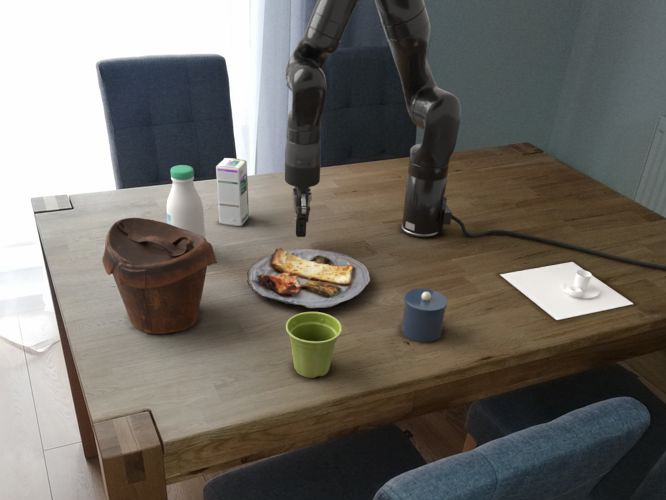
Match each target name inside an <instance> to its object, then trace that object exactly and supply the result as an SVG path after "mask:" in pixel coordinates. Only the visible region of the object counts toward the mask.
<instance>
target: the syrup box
mask: <svg viewBox="0 0 666 500" xmlns="http://www.w3.org/2000/svg"><path fill="white" fill-rule="evenodd" d="M215 173H216V174H215V175H216V176H215V177H216V187H217V188H216V191H217V205H218V222H219V224H222V225H227V226H235V227H243V225H244V224H245V223H246V221H247V220H248V218H249V216H250V210H249V208H250V207H249V186H248V185H249V183H248V162H247V160H246V159H241V158H232V157H231V158H230V157H224V158H223V160H221V161H220V162H218V164H217V165H216V166H215Z"/></svg>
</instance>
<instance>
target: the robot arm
mask: <svg viewBox="0 0 666 500" xmlns="http://www.w3.org/2000/svg"><path fill="white" fill-rule="evenodd" d="M358 2H359V0H317V1H316V3H315V5H314V8H313V10H312V13H311V15H310V18H309V21H308V23H307V26H306V28H305V31H304V34H303V36H302V37H301V38H300V40H299V41H298V43H297V45H296V47H295V49H294V51H293V52H292V54H291V56H290V57H289V60H288V62H287V64H286V67H285V72H284V81H285V85H286V87H287V88H288V89H289V91H291V96H292V97H291V98H292V99H291V110H290V111H289V112H288V113H287V118H286V143H285V149H284V151H285V152H284V181H285V183H286V184H288V185H290V186H292V189H291V190H292V191H291V194H292V207H293V212H294V218H295V236H296V238H306V236H307V223H308V222H309V218H310V212H311V201H312V196H313V194H312V192H311V190H312V188H311V187H315V186H317V185H318V184H319V183H320V182H321V161H322V160H321V159H322V147H321V135H322V133H321V132H322V130H321V129H322V116H323V112H324V108H325V103H326V99H327V89H328V87H327V78H326V74H325V73H324V71H323V70H322V69H323V66H324V64H325V63H326V61H327V59H328V57H329V56H330V55H333V54H335V53H336V52H337V50H338V48H339V46H340V44H341V41H342V39H343V37H344V35H345V32H346V30H347V27H348V25H349V23H350V20H351V18H352V16H353V13H354V11H355V8H356V6H357V4H358ZM374 3H375V6H376V10H377V13H378V17H379V19H380V23H381V27H382V29H383V32H384V35H385V38H386V41H387V42H388V45H389V49H390V52H391V55H392V58H393V61H394V64H395V66H396V69H397V72H398V75H399V79H400V82H401V87H402V92H403V97H404V102H405V105H406V110H407V113H408V116H409V118H410V120H411V121H412V123H413V124H414V125H415V126H417V127H418V128H420V129H422V130H423V134H422V140H421V143H417V144H414V145H412V147H410V150H409V157H408V167H407V168H408V169H407V176H406V185H405V194H404V202H403V203H404V204H403V213H402V219H401V228H400V229H401V230H402V232H403V233H404V234H406V235H408V236H412V237H416V238H433V237H436V236H441V235H443V228H444V226H446V225H447V226H450V225H451V221H452V220H453V221H455V222H456V223H457V224H458V225H459V226H460V228H461V231H462V233H463V235H464V236H466V237H468V238H477V237H483V236H487V235H492V234H493V235H494V234H499V235H500V234H502V235H508V236H515V237H519V238H523V239H528V240H533V241H538V242H542V243H547V244H550V245H551V244H552V245H556V246H559V247H562V248H563V247H564V248H568V249H570V250H571V249H572V250H576V251H579V252H583V253H588V254H591V255H595V256H600V257H604V258H607V259H611V260H617V261H621V262H625V263H629V264H633V265H639V266H642V267H643V266H644V267H647V268H648V267H649V268H652V269H653V268H654V269H659V270H665V271H666V265H663V264H657V263H652V262H646V261H641V260H638V259H633V258H629V257H624V256H619V255H614V254H611V253H606V252H603V251H599V250H594V249H590V248H586V247H582V246H578V245H574V244H571V243H567V242H564V241H563V242H562V241H558V240H554V239H551V238H545V237H540V236H536V235H532V234H531V235H530V234H526V233H521V232H517V231H512V230H507V229H506V230H505V229H490V230H486V231H483V232H479V233H471V232H469V231H467V229H466V226H465V224H464V222H463V221H462V220H461V219H460V218H458V217H456V216H455V215H453V212H452V210H451V208H450V207H449V206H448V204H447V201H448V197H447V196H446V190H447V189H446V187H447V181H448V173H449V167H450V160H451V157H452V155H453V153H454V151H455V149H456V145H457V139H458V134H459V130H460V126H461V125H460V124H461V119H462V106H461V102H460V99H459V98H458V97H457V96H456V95H455V94H453V93H451V92H449V91H447V90H445V89H442V88H440V87H439V86H438V85H437V82H436V81H435V78H434V76H433V72H432V69H431V66H430V61H429V50H430V47H431V38H432V27H431V22H430V21H431V20H430V18H429V14H428V10H427V8H426V4H425V0H374Z"/></svg>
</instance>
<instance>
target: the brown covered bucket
mask: <svg viewBox="0 0 666 500" xmlns="http://www.w3.org/2000/svg"><path fill="white" fill-rule="evenodd" d="M104 242H105V243H104V244H105V245H104V251H103V254H102V255H103V256H102V260H101V262H102V265H103V267H104V270H105V272H106V274H107V275H108V276H110V275H112V276H113V280H114V281H115V284H116V287H117V290H118V292H119V295H120V298H121V300H122V302H123V305H124V308H125V311H126V313H127V316H128V319H129V322H130V323H131V324H132V325H133V326H134V327H135V328H136V329H138V330H140V331H142V332H143V333H146V334H151V335H152V334H155V335H157V334H158V335H163V334H165V335H166V334H172V333H177V332H182V331H184V330H186V329H189V328H190V327H193V326H194V325H195V324H196V323H197V320H198V318H199V315H200V307H201V301H202V296H203V292H204V287H205V282H206V281H205V280H206V276H207V270H208V267H209V266H211V265H216V264H218V260H217V257H216V254H215V251H214V247H213V245H212V243H211V242H209V241H208V240H207V239H206V237H205V238H204V237H203V236H201V235H199V234H196V233H193V232H190V231H188V230H184V229H181V228H178V227H176V226H173V225H170V224H167V222H163V221H160V220H154V219H150V218H142V217H126V218H122V219H119V220H117V221H115V222H114V223H113V224H112V225H111V227H110V228H109V230H108V232H107V234H106V236H105V241H104Z"/></svg>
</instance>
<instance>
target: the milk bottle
mask: <svg viewBox="0 0 666 500" xmlns="http://www.w3.org/2000/svg"><path fill="white" fill-rule="evenodd" d="M170 180H171V181H172V185H171V189H170V192H169V194H168V196H167V201H166V223H167V224H170V225H173V226H176V227H178V228H181V229H184V230H188V231H190V232H193V233H196V234H199V235H201V236H203V237H204V238H205V239H206V230H205V228H206V227H205V214H204V206H203V201H202V199H201V196H200V194H199V193H198V191H197V189H196V187H195V183H194V180H195V171H194V168H193V167H192V166H190V165H186V164H179V165H174V166H172V167H171V168H170Z"/></svg>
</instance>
